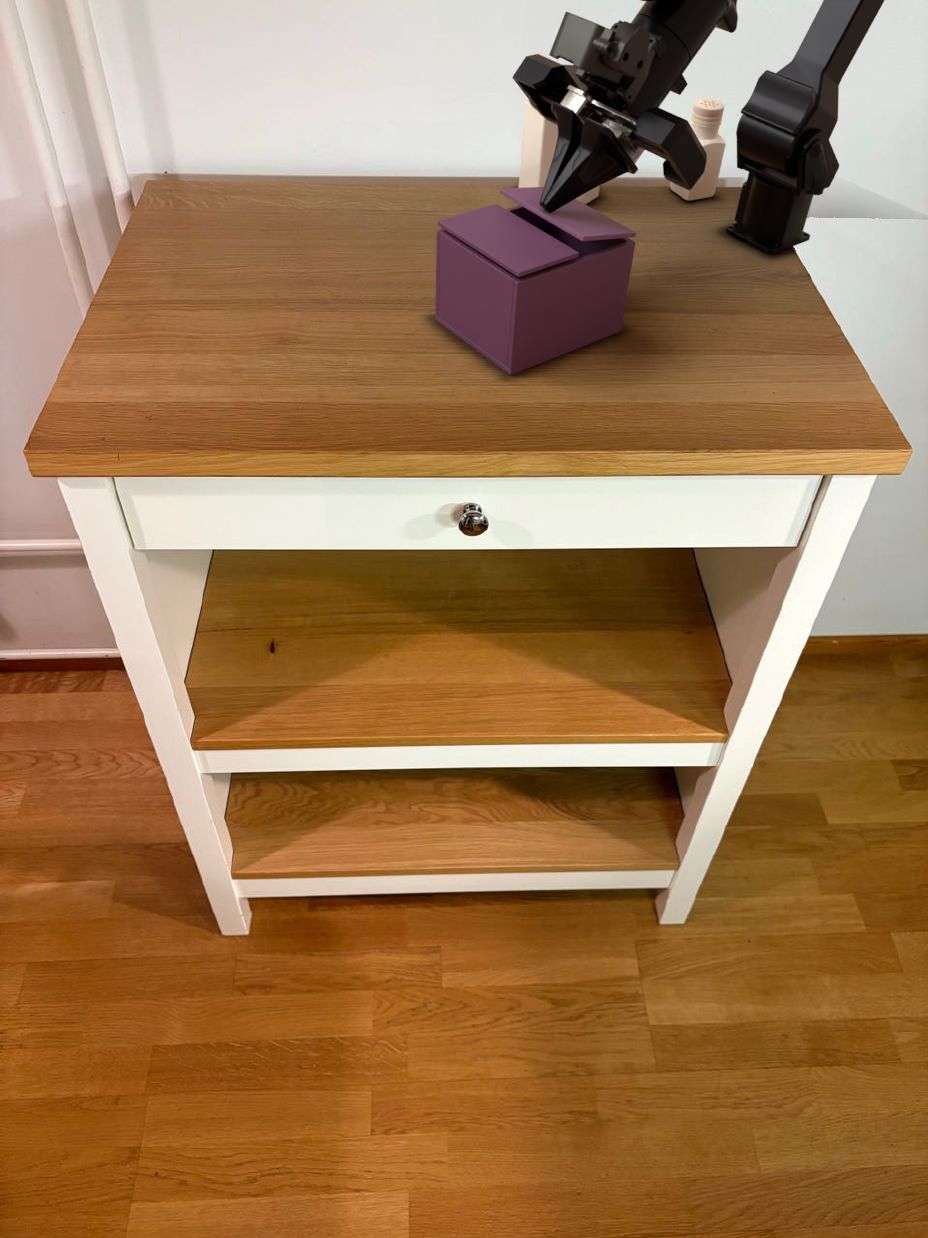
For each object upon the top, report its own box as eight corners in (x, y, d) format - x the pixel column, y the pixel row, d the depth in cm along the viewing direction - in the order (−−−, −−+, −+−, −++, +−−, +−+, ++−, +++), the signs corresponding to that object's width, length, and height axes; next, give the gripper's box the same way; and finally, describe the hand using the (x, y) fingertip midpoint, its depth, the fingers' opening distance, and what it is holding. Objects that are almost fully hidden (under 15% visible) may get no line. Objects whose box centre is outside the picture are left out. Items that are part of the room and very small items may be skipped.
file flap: (551, 190, 89) (552, 186, 89) (635, 237, 83) (636, 232, 83) (499, 192, 86) (500, 187, 85) (582, 241, 80) (583, 236, 80)
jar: (568, 218, 106) (582, 98, 97) (505, 196, 109) (513, 78, 100) (610, 191, 111) (626, 75, 102) (549, 171, 114) (560, 57, 105)
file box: (543, 282, 96) (552, 186, 89) (620, 331, 90) (637, 232, 83) (435, 320, 90) (436, 220, 83) (510, 375, 84) (518, 273, 78)
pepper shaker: (666, 188, 112) (683, 99, 105) (695, 183, 113) (714, 95, 106) (686, 203, 109) (704, 112, 103) (716, 198, 111) (736, 107, 104)
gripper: (540, -61, 78) (425, 113, 81) (714, 0, 68) (575, 196, 71) (599, 35, 87) (494, 188, 90) (761, 101, 77) (636, 271, 80)
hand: (544, 208), depth 83 cm, fingers closed, pressing on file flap
